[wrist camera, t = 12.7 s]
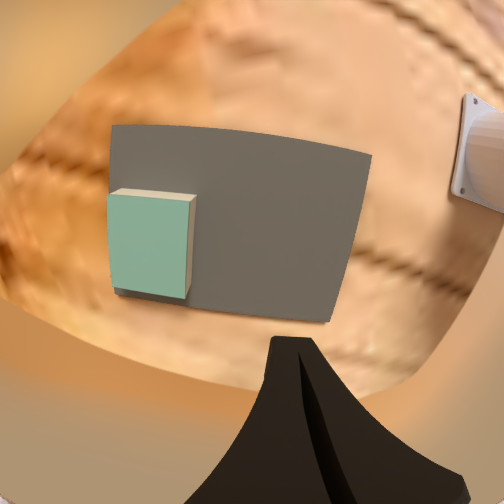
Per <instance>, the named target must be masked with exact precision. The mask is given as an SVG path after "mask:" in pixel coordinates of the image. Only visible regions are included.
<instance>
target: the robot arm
mask: <svg viewBox="0 0 504 504" xmlns="http://www.w3.org/2000/svg"><path fill="white" fill-rule="evenodd" d="M473 99H474V101H475V104H474V102H473ZM461 188H462V192H461V193H460V190H461ZM451 192H452V194H453V195H455V196H458V197H461V198H464V199H467V200H469V201H472V202H475V203H478V204H480V205H483V206H486V207H488V208H491V209H493V210H496V211H498V212H501V213H503V214H504V113H502V112H500V111H499V110H497V109H496V108H494V107H493V106H491V105H490V104H488V103H487V102H485V101H483V100H482V99H480V98H479V97H477V96H475V95H474V94H472V93H465V94H464V100H463V113H462V123H461V131H460V139H459V146H458V152H457V158H456V164H455V169H454V174H453V179H452V184H451ZM470 500H471V498H470V495H469V492H468V489H467V487H466V484H465V482H464V479H463V477H462V476H461V475H459V474H457V473H455V472H453V471H450V470H448V469H446V468H444V467H442V466H440V465H438V464H436V463H434V462H432V461H431V460H429V459H427V458H426V457H424V456H422V455H421V454H419V453H417V452H416V451H414V450H413V449H412V448H410V447H409V446H407V445H406V444H405V443H403V442H402V441H401V440H400V439H398V438H397V437H396V436H394V435H393V434H392V433H391V432H389V431H388V430H387V429H386V428H385V427H384V426H382V425H381V424H380V423H379V422H378V421H377V420H376V419H375V418H374V417H373V416H372V415H371V414H370V413H369V412H368V411H367V410H366V409H365V408H364V407H363V406H362V405H361V404H360V403H359V401H358V400H357V399H356V398H355V397H354V396H353V394H352V393H351V392H350V391H349V390H348V388H347V387H346V386H345V385H344V383H343V382H342V381H341V379H340V378H339V377H338V375H337V374H336V373H335V371H334V370H333V369H332V367H331V366H330V364H329V363H328V362H327V360H326V359H325V357H324V356H323V354H322V353H321V351H320V350H319V348H318V347H317V345H316V344H315V342H314V341H313V340H312V338H307V337H286V336H274V337H272V338H271V341H270V346H269V352H268V357H267V363H266V368H265V373H264V381H263V384H262V387H261V389H260V391H259V394H258V397H257V399H256V401H255V403H254V406H253V408H252V410H251V412H250V414H249V416H248V418H247V420H246V421H245V423H244V425H243V427H242V429H241V430H240V432H239V434H238V435H237V437H236V439H235V440H234V442H233V443H232V445H231V447H230V448H229V450H228V451H227V453H226V454H225V455H224V457H223V458H222V459H221V461H220V462H219V463H218V465H217V466H216V467H215V469H214V470H213V471H212V473H211V474H210V475H209V476H208V478H207V479H206V480H205V481H204V482H203V484H202V485H201V486H200V487H199V488H198V489H197V490H196V491H195V492H194V493H193V494H192V495H191V497H190V498H189V499H188V500H187V501H186V502H185V503H184V504H469V502H470ZM0 504H15V503H13V502H11V501H10V500H8V499H6V498H5V497H4V496H2V495H1V494H0ZM497 504H504V499H502V500H501V501H500V502H498V503H497Z"/></svg>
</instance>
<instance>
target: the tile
mask: <svg viewBox="0 0 504 504" xmlns="http://www.w3.org/2000/svg"><path fill="white" fill-rule="evenodd" d="M196 197H197V195H193V194H183V193H173V192H162V191H150V190H138V189H124V188H121V189H119V190H117V191H115V192H112V193H110V194H108V195H107V224H108V244H109V259H110V270H111V280H112V287H117V288H123V289H128V290H134V291H139V292H145V293H151V294H157V295H163V296H169V297H176V298H182V299H185V298H186V295H187V293H188V290H189V288H190V285H191V278H192V256H193V239H194V223H195V210H196Z"/></svg>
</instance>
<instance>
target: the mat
mask: <svg viewBox="0 0 504 504" xmlns="http://www.w3.org/2000/svg"><path fill="white" fill-rule="evenodd" d="M371 158H372V155H370V154H366V153H362V152H358V151H353V150H349V149H345V148H340V147H336V146H331V145H326V144H321V143H316V142H311V141H306V140H300V139H294V138H288V137H282V136H275V135H269V134H261V133H254V132H246V131H237V130H227V129H217V128H205V127H190V126H169V125H112V132H111V146H110V166H109V194H110V193H112V192H115V191H117V190H119V189H121V188H124V189H138V190H150V191H162V192H173V193H183V194H193V195H197V197H196V210H195V223H194V239H193V256H192V278H191V285H190V288H189V290H188V293H187V295H186V298H185V299H182V298H176V297H169V296H163V295H157V294H151V293H145V292H139V291H134V290H128V289H123V288H117V287H114V291H115V294H117V295H123V296H128V297H133V298H139V299H144V300H150V301H156V302H162V303H168V304H174V305H180V306H187V307H194V308H200V309H208V310H215V311H222V312H230V313H238V314H246V315H255V316H264V317H274V318H284V319H295V320H306V321H319V322H330V319H331V316H332V313H333V310H334V307H335V303H336V300H337V297H338V294H339V290H340V287H341V284H342V280H343V277H344V274H345V270H346V267H347V263H348V259H349V256H350V252H351V248H352V244H353V241H354V237H355V233H356V229H357V225H358V220H359V216H360V212H361V207H362V203H363V198H364V194H365V189H366V184H367V179H368V174H369V169H370V164H371Z"/></svg>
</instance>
